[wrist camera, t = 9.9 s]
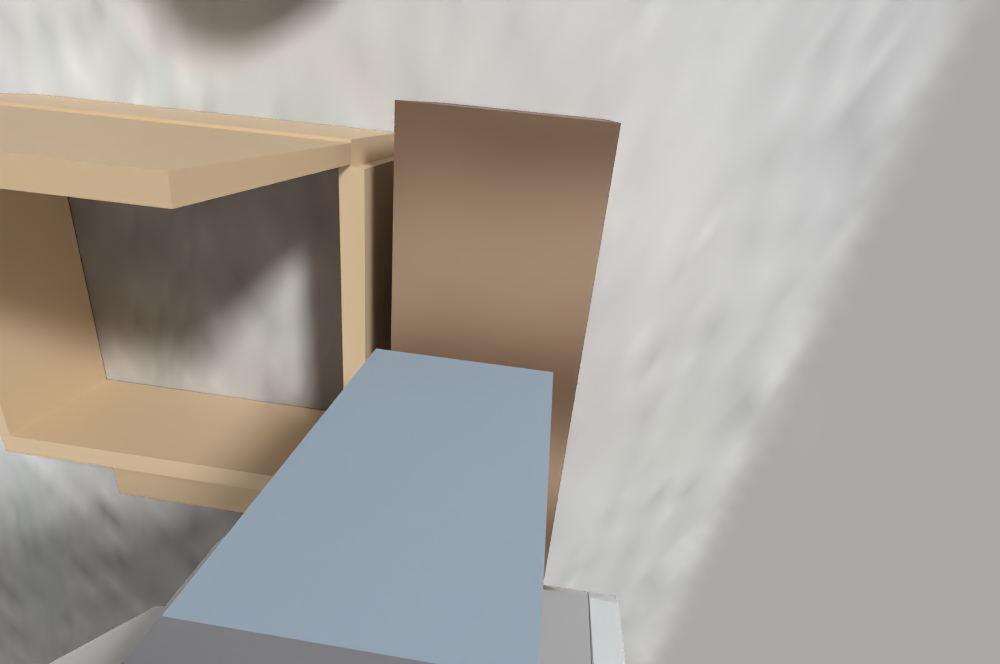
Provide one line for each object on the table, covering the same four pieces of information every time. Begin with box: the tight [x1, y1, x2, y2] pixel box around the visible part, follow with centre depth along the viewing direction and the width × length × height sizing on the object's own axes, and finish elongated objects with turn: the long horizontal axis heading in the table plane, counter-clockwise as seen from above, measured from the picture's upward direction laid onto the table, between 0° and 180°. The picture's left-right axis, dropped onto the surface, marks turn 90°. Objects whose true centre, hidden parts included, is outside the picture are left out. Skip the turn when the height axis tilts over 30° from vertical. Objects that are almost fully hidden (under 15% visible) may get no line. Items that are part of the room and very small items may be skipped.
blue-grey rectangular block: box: [123, 349, 553, 664], centre depth 9 cm, size 6×4×10 cm, turn 175°
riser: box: [391, 100, 621, 576], centre depth 20 cm, size 16×6×6 cm, turn 175°
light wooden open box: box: [0, 93, 394, 513], centre depth 19 cm, size 20×16×13 cm
